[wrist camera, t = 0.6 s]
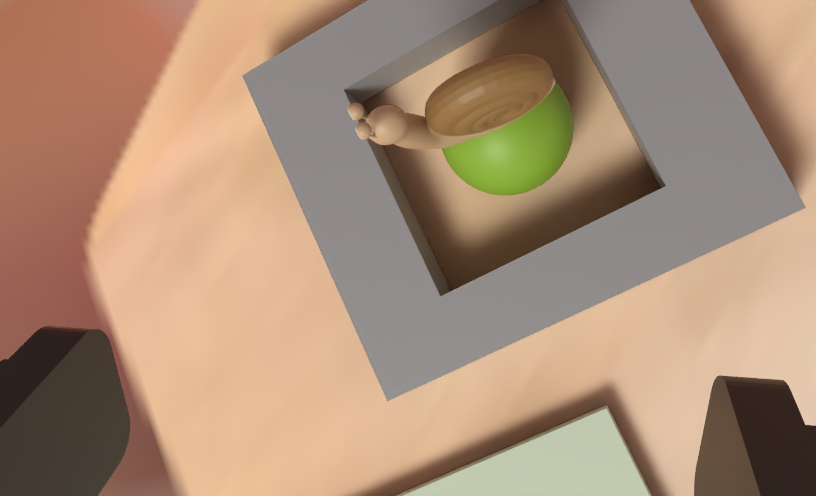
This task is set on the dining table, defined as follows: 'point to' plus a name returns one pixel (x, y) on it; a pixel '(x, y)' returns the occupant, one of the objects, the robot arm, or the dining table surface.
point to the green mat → (551, 465)
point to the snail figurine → (486, 124)
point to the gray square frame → (554, 262)
